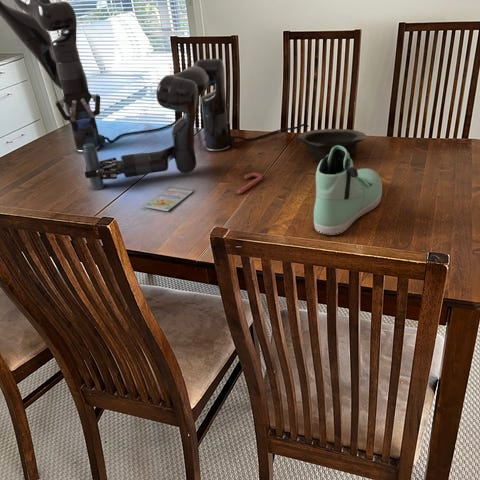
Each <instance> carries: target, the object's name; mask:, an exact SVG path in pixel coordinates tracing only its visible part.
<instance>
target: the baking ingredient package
mask: <svg viewBox="0 0 480 480" xmlns="http://www.w3.org/2000/svg"><path fill="white" fill-rule="evenodd" d="M193 192H194V191H193V190H189V189H188V190H187V189H180V188H175V187H169V188H168V189H166V190H165V191H163V192H162V193H161V194H159V195H157V197H155V198H153V199H152V200H151V201H149V202H148V203H147V204H145V205H144V206H143V208H147V209H152V210H153V209H154V210H158V211H164V212H169V211H170V210H171V209H172V208H173V207H175V206H176V205H178V204H179V203H180V202H182V200H184V199H185V198H186V197H189V195H190V194H192V193H193Z"/></svg>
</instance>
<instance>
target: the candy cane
mask: <svg viewBox="0 0 480 480" xmlns="http://www.w3.org/2000/svg"><path fill="white" fill-rule="evenodd" d="M250 178H254V179H252V180H251V181H250V182H248V183H247V184H246V185H244V186H242V187H241V188H239V189H238V190H237V191H236V194H237V195H241V194H243V193H244V192H246V191H247V190H249V189H250V188H252V187H253V186H254V185H256V184H258V183H259V182H261V181H262V180H263V174H261V173H259V172H249V173H247V174H245V175H244V180H248V179H250Z"/></svg>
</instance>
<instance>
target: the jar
mask: <svg viewBox="0 0 480 480" xmlns="http://www.w3.org/2000/svg"><path fill="white" fill-rule="evenodd" d="M83 148H84V149H83V153H82V154H83V158H84V162H85V168H86V167H87V171H92V170H98V169H101V168H100V164H99V161H100V159H99V155H98V151H97V150H96V148H95V147H94V144H93V143H88V144H84V145H83ZM88 179H89V183H90V187H91V189H92V190H93V191H94V190H95V191H97V190H98V191H99V190H102V189H103V188H105V183H104V179H99V178H98V177H92V178H88Z"/></svg>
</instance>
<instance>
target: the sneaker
mask: <svg viewBox="0 0 480 480" xmlns="http://www.w3.org/2000/svg"><path fill="white" fill-rule="evenodd" d="M317 165H318V166H317V168H316V172H315V201H314V207H313V225H314V229H315V231H316V232H318V233H320V234H323V235H326V236H327V235H328V236H336V235H339V234H342V233H344V232H345V231H347V230H348V229H349V228H350V227H351V226H352V225H353V224H354V222H356V221H357V220H358V219H359V218H360V217H362V216H363V215H365V214H367V213H370V212H372V210H374V209H375V208H377V207H378V205H380V203H381V200H382V196H383V184H382V183H383V182H382V179H381V176H380V175H379V173H378V172H377V171H376V170H374V169H372V168H367V167H365V168H358V169H357V168H355V167H354V161H353V159H352V158H351V157H350V156H349V153H348V152H347V150H346V149H345V148H344V147H342V146H334V147H333V148H332V149H331V152H330V154H329V155H327V156H326V157H325V158H324V159H322V160H321V161H320V162H318V164H317ZM343 230H344V231H343ZM319 231H320V232H319ZM322 232H323V233H322ZM339 232H340V233H339ZM326 233H327V234H326ZM328 233H329V234H328ZM335 233H337V234H335Z"/></svg>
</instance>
